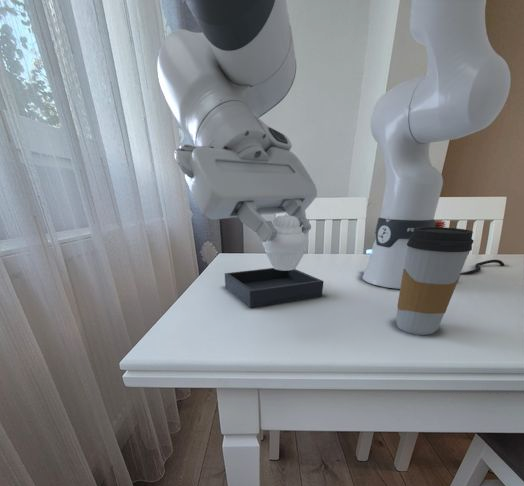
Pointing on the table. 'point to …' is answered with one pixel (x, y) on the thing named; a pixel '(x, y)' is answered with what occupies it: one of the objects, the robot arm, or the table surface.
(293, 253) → the muffin
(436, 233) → the coffee cup
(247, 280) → the tray
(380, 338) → the table surface
